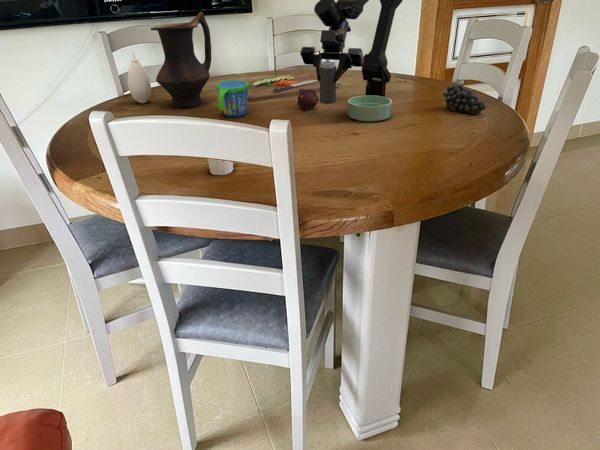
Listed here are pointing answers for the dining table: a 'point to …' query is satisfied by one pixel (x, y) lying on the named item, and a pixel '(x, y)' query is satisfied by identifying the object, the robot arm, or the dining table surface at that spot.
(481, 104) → the fruit
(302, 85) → the chopping board
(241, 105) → the snack cup
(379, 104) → the bowl
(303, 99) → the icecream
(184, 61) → the jug
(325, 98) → the pepper mill
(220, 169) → the shot glass
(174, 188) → the dining table surface
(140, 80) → the teardrop candle
